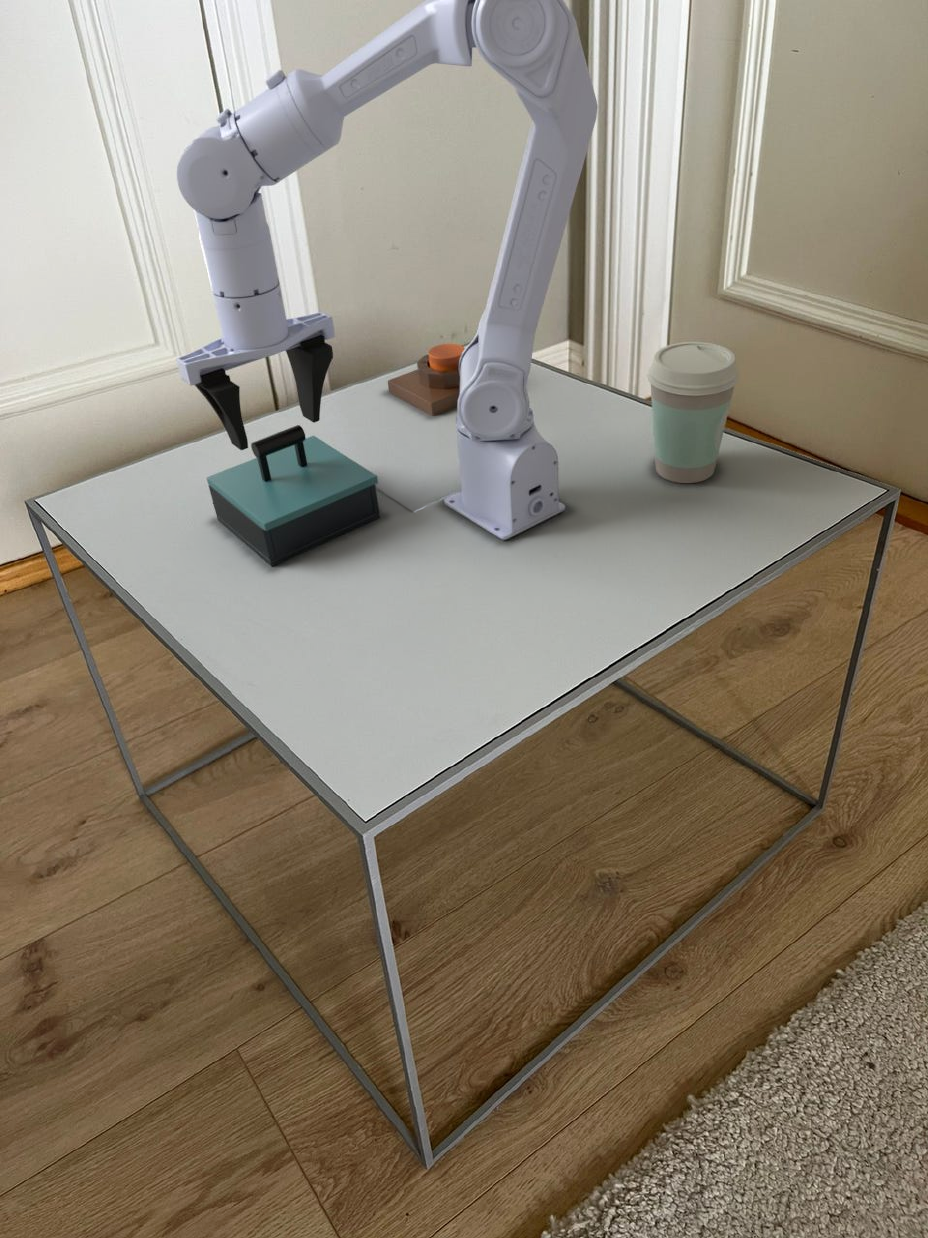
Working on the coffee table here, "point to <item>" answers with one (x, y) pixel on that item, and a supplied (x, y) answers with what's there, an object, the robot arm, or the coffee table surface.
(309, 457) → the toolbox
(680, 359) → the coffee cup
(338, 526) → the open-top box
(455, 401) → the block
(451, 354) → the button
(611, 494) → the coffee table surface
